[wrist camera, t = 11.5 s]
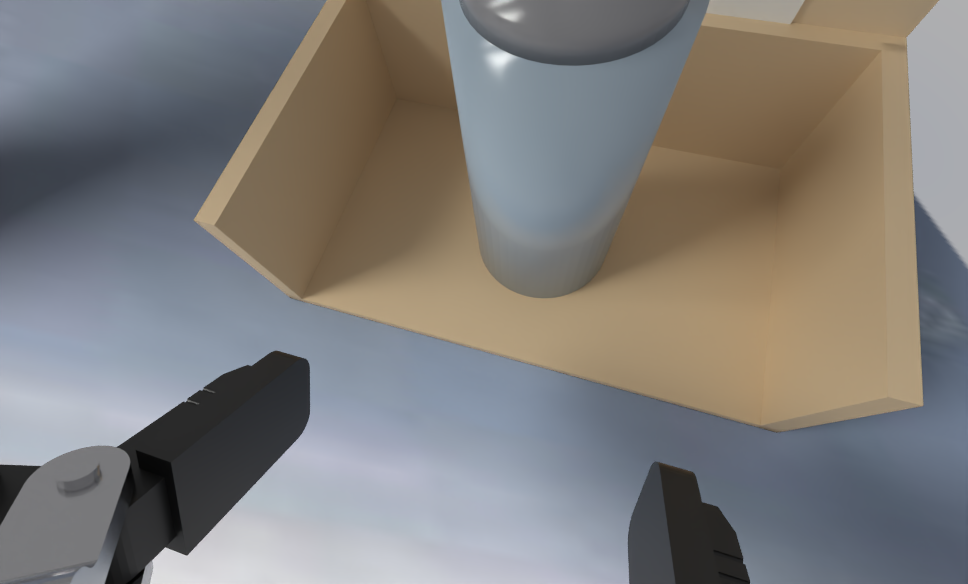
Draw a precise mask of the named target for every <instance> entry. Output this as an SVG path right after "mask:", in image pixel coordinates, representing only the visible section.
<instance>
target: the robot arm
mask: <svg viewBox="0 0 968 584" xmlns="http://www.w3.org/2000/svg"><path fill="white" fill-rule="evenodd" d="M309 414H310V367H309V363H308V361H307V360H306V359H304V358H301V357H297V356H294V355H290V354H287V353H283V352H280V351H273V352H271V353H269V354H268V355H266V356H265V357H264V358H262V359H261V360H259V361H258V362H257V363H255V364H254V365H253V366H249V365H246V366H244V367H241V368H238V369H236V370H233V371H230V372H228V373H225V374H223V375H221V376H220V377H218V378H217V379H216V380H214V381H213V382H211V383H210V384H208V385H207V386H205V387H204V389H203V391H198V392H197V393H195V394H194V395H192V396H191V397H189V398H188V399H187V401H186V402H182V403H181V404H179V405H178V406H176V407H175V408H173V409H172V410H170V411H169V412H168V413H166V414H165V415H163V416H162V417H160V418H159V419H157V420H156V421H154V422H153V423H152V424H150V425H149V426H147V427H146V428H144V429H143V430H141V431H140V432H138V433H137V434H136V435H134V436H133V437H131V438H130V439H128V440H127V441H125V442H124V443H122V444H121V445H119V446H118V447H112V446H92V447H86V448H81V449H78V450H74V451H71V452H68V453H65V454H63V455H61V456H59V457H56V458H55V459H53V460H51V461H49V462H47V463H46V464H44V465H43V466H23V465H0V584H150V580H151V576H152V571H153V562H152V560H153V559H154V558H155V557H156V556H157V555H158V554H159V553H160V552H161V551H162V550H163V549H164V548H165V547H166V548H169V549H171V550H174V551H177V552H179V553H182V554H184V555H188V554H189V553H190V552H191V551H192V550H193V549H194V548H195V547H196V546H197V544H198V543H199V542H200V541H201V540H202V539H203V538H204V537H205V536H206V535H207V534H208V533H209V532H210V531H211V530H212V529H213V528H214V527H215V525H216V524H217V523H218V522H219V521H220V520H221V519H222V518H223V517H224V516H225V515H226V514H227V513H228V512H229V511H230V510H231V509H232V507H233V506H234V505H235V504H236V503H237V502H238V501H239V500H240V499H241V498H242V497H243V496H244V495H245V494H246V493H247V492H248V491H249V490H250V488H251V487H252V486H253V485H254V484H255V483H256V482H257V481H258V480H259V479H260V478H261V477H262V476H263V475H264V474H265V473H266V472H267V470H268V469H269V468H270V467H271V466H272V465H273V464H274V463H275V462H276V461H277V460H278V459H279V458H280V457H281V456H282V455H283V454H284V453H285V451H286V450H287V449H288V448H289V447H290V446H291V445H292V444H293V443H294V442H295V441H296V440H297V439H298V438H299V436H300V435H301V434H302V432H303V431H304V429H305V427H306V424H307V422H308V419H309ZM628 559H629V584H750V579H749V576H748V573H747V569H746V566H745V564H743V556H742V552H741V549H740V546H739V542H738V539H737V536H736V532H735V531H734V530H733V528H732V527H731V525H730V524H729V522H728V521H727V519H726V518H725V517H724V515H723V514H722V512H721V511H720V509H719V508H718V507H716V506H713V505H710V504H706V503H703V502H702V501H701V496H700V492H699V488H698V483H697V479H696V476H695V474H694V473H693V472H691V471H687V470H684V469H680V468H677V467H673V466H670V465H667V464H663V463H660V462H654V463H653V464H652V466H651V468H650V470H649V473H648V476H647V478H646V481H645V483H644V486H643V488H642V491H641V493H640V496H639V498H638V501H637V503H636V506H635V509H634V511H633V514H632V517H631V521H630V527H629V534H628Z"/></svg>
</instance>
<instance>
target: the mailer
mask: <svg viewBox="0 0 968 584" xmlns="http://www.w3.org/2000/svg"><path fill="white" fill-rule="evenodd" d="M938 1H939V0H710V1H709V4H708V8H707V11H706V14H705V16H704V19H703V21H702V24H701V26H700V29H699V31H698V33H697V36H696V38H695V41H694V43H693V46H692V48H691V51H690V53H689V55H688V58H687V60H686V63H685V65H684V68H683V70H682V73H681V75H680V77H679V80H678V82H677V85H676V87H675V90H674V92H673V94H672V97H671V99H670V102H669V104H668V107H667V109H666V112H665V114H664V116H663V119H662V121H661V124H660V126H659V129H658V131H657V133H656V136H655V138H654V141H653V143H652V146H651V148H650V151H649V153H648V155H647V158H646V160H645V163H644V165H643V168H642V170H641V173H640V175H639V177H638V180H637V182H636V185H635V187H634V190H633V192H632V194H631V197H630V199H629V202H628V204H627V207H626V209H625V212H624V214H623V216H622V219H621V221H620V224H619V226H618V229H617V231H616V233H615V236H614V238H613V241H612V243H611V246H610V248H609V251H608V253H607V255H606V258H605V260H604V263H603V265H602V267H601V269H600V270H599V271H598V273H597V274H596V276H595V277H594V278H593V279H592V280H591V281H590V282H588V283H587V284H586V285H585V286H583V287H582V288H580V289H578V290H577V291H575V292H572V293H570V294H567V295H564V296H561V297H555V298H533V297H528V296H524V295H521V294H518V293H516V292H514V291H511V290H509V289H508V288H506V287H505V286H503V285H502V284H500V283H499V282H498V281H497V280H496V279H495V278H494V277H493V276H492V275H491V274H490V272H489V271H488V269H487V268H486V266H485V264H484V262H483V260H482V257H481V254H480V249H479V243H478V237H477V230H476V224H475V217H474V211H473V204H472V198H471V191H470V185H469V178H468V172H467V165H466V159H465V152H464V146H463V139H462V133H461V127H460V120H459V114H458V107H457V101H456V94H455V88H454V81H453V75H452V68H451V62H450V55H449V49H448V42H447V36H446V29H445V23H444V16H443V10H442V3H441V0H327V1H326V3H325V4H324V6H323V8H322V9H321V11H320V13H319V14H318V16H317V17H316V19H315V21H314V22H313V24H312V26H311V27H310V29H309V31H308V32H307V34H306V36H305V37H304V39H303V41H302V42H301V44H300V46H299V47H298V49H297V50H296V52H295V54H294V55H293V57H292V59H291V60H290V62H289V64H288V65H287V67H286V69H285V70H284V72H283V74H282V75H281V77H280V79H279V80H278V82H277V83H276V85H275V87H274V88H273V90H272V92H271V93H270V95H269V97H268V98H267V100H266V102H265V103H264V105H263V107H262V108H261V110H260V112H259V113H258V115H257V116H256V118H255V120H254V121H253V123H252V125H251V126H250V128H249V130H248V131H247V133H246V135H245V136H244V138H243V140H242V141H241V143H240V145H239V146H238V148H237V149H236V151H235V153H234V154H233V156H232V158H231V159H230V161H229V163H228V164H227V166H226V168H225V169H224V171H223V173H222V174H221V176H220V178H219V179H218V181H217V182H216V184H215V186H214V187H213V189H212V191H211V192H210V194H209V196H208V197H207V199H206V201H205V202H204V204H203V206H202V207H201V209H200V211H199V212H198V214H197V215H196V217H195V219H194V221H195V222H197V223H198V224H199V225H200V226H202V227H203V228H204V229H205V230H207V231H208V232H209V233H210V234H212V235H213V236H214V237H215V238H217V239H218V240H219V241H220V242H222V243H223V244H224V245H225V246H226V247H228V248H229V249H230V250H231V251H233V252H234V253H235V254H236V255H238V256H239V257H240V258H241V259H243V260H244V261H245V262H246V263H248V264H249V265H250V266H251V267H253V268H254V269H255V270H256V271H258V272H259V273H260V274H261V275H263V276H264V277H265V278H266V279H268V280H269V281H270V282H271V283H273V284H274V285H275V286H276V287H278V288H279V289H280V290H281V291H283V292H284V293H285V294H286V295H288V296H289V297H290V298H293V299H296V300H300V301H304V302H307V303H311V304H314V305H318V306H322V307H325V308H329V309H333V310H336V311H340V312H343V313H347V314H351V315H354V316H358V317H361V318H365V319H369V320H372V321H376V322H379V323H383V324H387V325H390V326H394V327H398V328H401V329H405V330H408V331H412V332H416V333H419V334H423V335H426V336H430V337H434V338H437V339H441V340H444V341H448V342H452V343H455V344H459V345H463V346H466V347H470V348H473V349H477V350H481V351H484V352H488V353H491V354H495V355H499V356H502V357H506V358H509V359H513V360H517V361H520V362H524V363H528V364H531V365H535V366H538V367H542V368H546V369H549V370H553V371H556V372H560V373H564V374H567V375H571V376H574V377H578V378H582V379H585V380H589V381H593V382H596V383H600V384H603V385H607V386H611V387H614V388H618V389H621V390H625V391H629V392H632V393H636V394H639V395H643V396H647V397H650V398H654V399H657V400H661V401H665V402H668V403H672V404H676V405H679V406H683V407H686V408H690V409H694V410H697V411H701V412H704V413H708V414H712V415H715V416H719V417H722V418H726V419H730V420H733V421H737V422H741V423H744V424H748V425H751V426H755V427H759V428H762V429H766V430H769V431H773V432H783V431H788V430H794V429H799V428H805V427H810V426H816V425H821V424H827V423H832V422H838V421H843V420H849V419H854V418H860V417H865V416H871V415H876V414H882V413H887V412H893V411H898V410H904V409H909V408H915V407H920V406H923V389H922V367H921V345H920V323H919V301H918V279H917V258H916V236H915V214H914V192H913V170H912V149H911V128H910V105H909V83H908V62H907V40H906V37H907V36H908V35H909V34H910V33H911V32H912V31H913V30H914V28H915V27H916V26H917V25H918V24H919V23H920V21H921V20H922V19H923V18H924V17H925V16H926V15H927V14H928V12H929V11H930V10H931V9H932V8H933V7H934V5H935V4H936V3H937V2H938Z"/></svg>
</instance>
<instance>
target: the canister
mask: <svg viewBox="0 0 968 584" xmlns="http://www.w3.org/2000/svg"><path fill="white" fill-rule="evenodd" d="M709 1H710V0H441V3H442V10H443V16H444V23H445V29H446V36H447V42H448V49H449V55H450V62H451V68H452V75H453V81H454V88H455V94H456V101H457V107H458V114H459V120H460V127H461V133H462V139H463V146H464V152H465V159H466V165H467V172H468V178H469V185H470V191H471V198H472V204H473V211H474V217H475V224H476V230H477V237H478V243H479V249H480V254H481V257H482V260H483V262H484V264H485V266H486V268H487V269H488V271H489V272H490V274H491V275H492V276H493V277H494V278H495V279H496V280H497V281H498V282H499V283H500V284H502V285H503V286H505V287H506V288H508V289H509V290H511V291H514V292H516V293H518V294H521V295H524V296H528V297H533V298H555V297H561V296H564V295H567V294H570V293H572V292H575V291H577V290H578V289H580V288H582V287H583V286H585V285H586V284H587V283H588V282H590V281H591V280H592V279H593V278H594V277H595V276H596V274H597V273H598V271H599V270H600V269H601V267H602V265H603V263H604V260H605V258H606V255H607V253H608V251H609V248H610V246H611V243H612V241H613V238H614V236H615V233H616V231H617V229H618V226H619V224H620V221H621V219H622V216H623V214H624V212H625V209H626V207H627V204H628V202H629V199H630V197H631V194H632V192H633V190H634V187H635V185H636V182H637V180H638V177H639V175H640V173H641V170H642V168H643V165H644V163H645V160H646V158H647V155H648V153H649V151H650V148H651V146H652V143H653V141H654V138H655V136H656V133H657V131H658V129H659V126H660V124H661V121H662V119H663V116H664V114H665V112H666V109H667V107H668V104H669V102H670V99H671V97H672V94H673V92H674V90H675V87H676V85H677V82H678V80H679V77H680V75H681V73H682V70H683V68H684V65H685V63H686V60H687V58H688V55H689V53H690V51H691V48H692V46H693V43H694V41H695V38H696V36H697V33H698V31H699V29H700V26H701V24H702V21H703V19H704V16H705V14H706V11H707V8H708V4H709Z"/></svg>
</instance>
